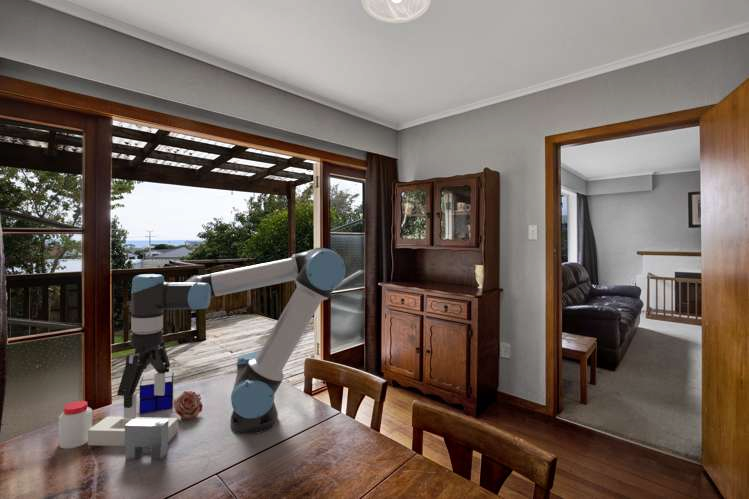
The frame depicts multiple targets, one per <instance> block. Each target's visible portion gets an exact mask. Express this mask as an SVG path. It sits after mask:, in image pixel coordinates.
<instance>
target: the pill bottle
mask: <svg viewBox="0 0 749 499" xmlns="http://www.w3.org/2000/svg"><path fill="white" fill-rule="evenodd" d="M88 403H89V402H88V401H86V400H78V401H73V402H69V403H68V404H65V405H64V406H63V412H62V413H61V414H60V415H59V416H58V446H59V448H61V449H75V448H78V447H81V446H84V445H85V444H88V430H89V429H90V428H92V427H93V409H92V408H91V407H89V406H88Z"/></svg>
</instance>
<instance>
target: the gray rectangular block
mask: <svg viewBox="0 0 749 499" xmlns="http://www.w3.org/2000/svg"><path fill="white" fill-rule="evenodd" d="M167 441H168V420H160V419H132V420H131V421H130V422H128V423H127V424H126V425H125V446H124V448H125V462H129V461H130V462H135V461H136V460H137V459H138V458H139V457H140V456H141V455H143V452H144V451H143V448H150V449H151V451H150V453H151V454H150V457H151V458H150V459H151V460H150V461H151V462H161V461H163V459H164V458H165V457H166V456H167V455H168V443H167Z"/></svg>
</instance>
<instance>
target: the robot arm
mask: <svg viewBox="0 0 749 499" xmlns="http://www.w3.org/2000/svg"><path fill="white" fill-rule="evenodd" d="M345 276H346V264H345V262H344V259H343V258H342V256H341V255H340V254H339V253H338V252H336V251H335V250H332V249H331V248H327V247H323V246H322V247H321V246H320V247H315V248H312V249H309V250H305V251H303V252H299V253H294V254H292V255H291V257H288V258H283V259H279V260H278V259H277V260H274V261H269V262H264V263H259V264H253V265H249V266H248V265H247V266H243V267H237V268H233V269H227V270H222V271H217V272H213V273H207V274H203V275H201V274H197V275H196V274H195V275H193V276H191V277H189V278H188V279H187V280H185V281H184V282H183V281H181V282H176V281H175V282H171V281H165V277H164V275H163V274H155V273H145V274H138V275H135V276H133V278H132V285H131V292H130V294H131V297H130V298H131V302H130V304H131V307H130V308H131V309H130V310H131V312H130V313H131V314H130V315H131V316H130V317H131V319H130V321H131V325H130V326H131V327H130V331H132V332H131V333H130V346H131V347H132V348H134V349H135V351H134V354H128V355H126V358H125V366H124V368H123V371H122V372H123V373H122V376H121V379H120V383H119V386H118V389H117V393H116V394H117V396H119V397H121V396H122V397H123V417H124V419H135V418H136V417H137V392H135V391H136V390H137V387H138V385H139V382H140V381H141V379H142V376H143V373H144V370H146V369H147V367H148V366H149V365H150V364H151V365H152V367H153V369H154V370H155V371H156V372H155V373H154V374H155V377H154V395H161V396H163V395H165V373H169V372H170V367H171V364H170V360H169V356H168V353H167V350H166V346H165V345H166V344H165V341H164V340H163V339H164V338H163V337H164V332H163V330H162V329H164V310H203V309H207V308H209V307H210V303H211V299H212V298H215V297H219V296H223V295H229V294H234V293H238V292H244V291H248V290H253V289H258V288H262V287H267V286H272V285H273V286H274V285H278V284H282V283H285V282H286V283H287V282H292V281H294V282H295V285H296V288H295V290H294V292H293V293H292V295H291V297H290V298H289V301H288V303H287V304H286V305H285V307H284V309H283V311H282V312H281V314H280V316H279V317H278V319H277V321H276V323H275V325H274V327H273V328H272V330H271V332H270V333H269V335H268V337H267V339H266V340H265V342H264V344H263V346H262V347H261V349H260V351H259V352H252V353H251V352H250V353H245V354H242V355H239V357H238V358H237V360H236V361H237V362H236V377H235V381H234V386H233V389H232V391H231V395H230V400H231V407H232V408H233V410H232V413H231V416H230V423H229V424H230V428H231V430H232V431H234V430H235V431H234V432H236V433H238V432H239V433H238V434H243V433H254V434H258V433H257V432H260V433H262V432H261V431H263V432H265V431H264V430H266V431H268V430H270V429H271V427H272V426H273V425H274V424H275V423H276V422H278V420H279V419H278V418H279V416H278V414H279V412H278V410H277V407H276V404H275V394H276V392H277V391H278V389H279V387H280V386H281V383H282V382H283V379H284V378H285V376H284V373H283V369H284V368H285V366H286V364H287V362H288V360H290V357H291V356H292V354H293V352H294V350H295V348H296V347H297V345H298V344H299V342H300V340H301V338H302V336H303V334H304V333H305V331H306V329H307V327H308V326H309V324H310V322H311V321H312V319H313V316H314V315H315V313H316V312H317V309H318V308H319V306H320V305H321V303H322V302H323V301H326V300H328V299H329V298H330V297H331V295H332V293H333V291H334V289H336V288H337V287H338V286H340V284H341V283H342V282H343V280H344V278H345ZM276 424H277V423H276ZM276 424H275V425H276ZM275 425H274V426H275ZM274 426H273V427H274ZM273 427H272V428H273ZM269 428H270V429H269ZM267 429H268V430H267Z"/></svg>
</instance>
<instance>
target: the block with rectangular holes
mask: <svg viewBox="0 0 749 499" xmlns="http://www.w3.org/2000/svg"><path fill="white" fill-rule="evenodd" d="M135 419H160V420H168V441H167V444H168V443H170V441H171V440H172V439H173V438H174V436H176V435H177V433H178V431H179V430H178V429H179V418H178V417H150V416H149V417H148V416H147V417H144V416H142V417H141V416H136V418H135ZM131 420H132V419H124V416H105V417H104V418H103V419H101V420H100V421H99V422H97V423H96V424H94V425H92V428H90V429H89V430H88V442H87V446H104V447H105V446H110V447H112V446H113V447H125V425H126V424H127V423H128V422H130V421H131Z"/></svg>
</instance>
